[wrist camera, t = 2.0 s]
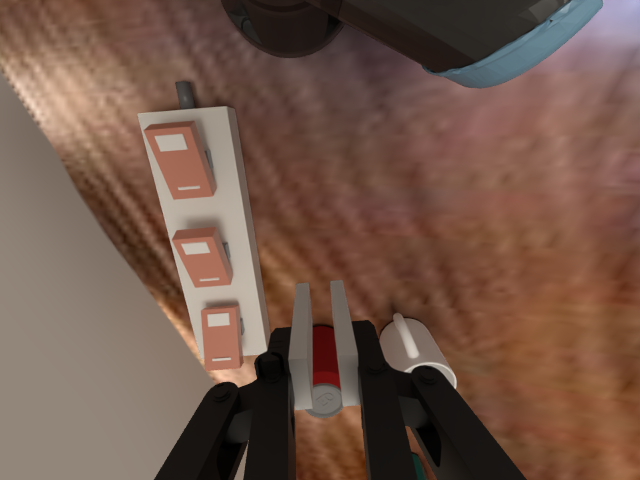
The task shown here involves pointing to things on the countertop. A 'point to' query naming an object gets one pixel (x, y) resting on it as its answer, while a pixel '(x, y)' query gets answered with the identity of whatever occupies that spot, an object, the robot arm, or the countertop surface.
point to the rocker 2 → (203, 256)
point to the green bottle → (419, 468)
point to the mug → (412, 347)
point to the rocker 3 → (222, 337)
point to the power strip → (216, 220)
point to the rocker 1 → (181, 159)
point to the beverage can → (325, 374)
